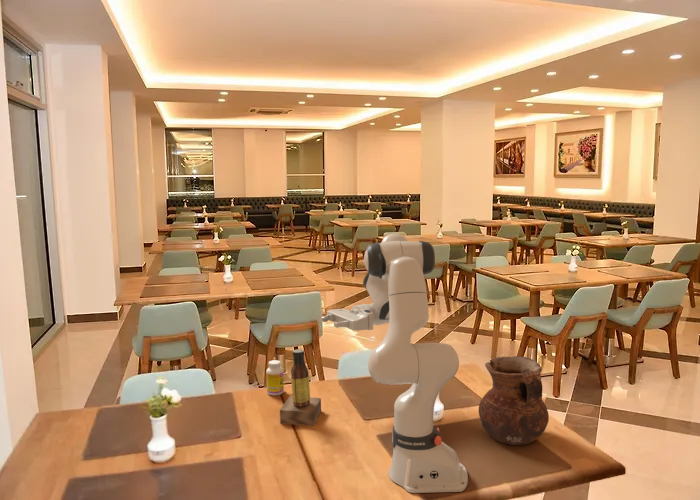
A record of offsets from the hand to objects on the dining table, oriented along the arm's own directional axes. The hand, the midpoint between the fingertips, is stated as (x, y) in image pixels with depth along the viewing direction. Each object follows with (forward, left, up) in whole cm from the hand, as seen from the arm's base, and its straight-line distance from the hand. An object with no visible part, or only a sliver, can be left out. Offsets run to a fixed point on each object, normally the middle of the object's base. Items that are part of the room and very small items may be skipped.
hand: (328, 322), depth 196 cm
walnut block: (+9, +8, -33) cm, 35 cm away
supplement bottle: (+25, -12, -34) cm, 43 cm away
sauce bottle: (+9, +8, -28) cm, 31 cm away
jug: (-64, +12, -34) cm, 73 cm away
